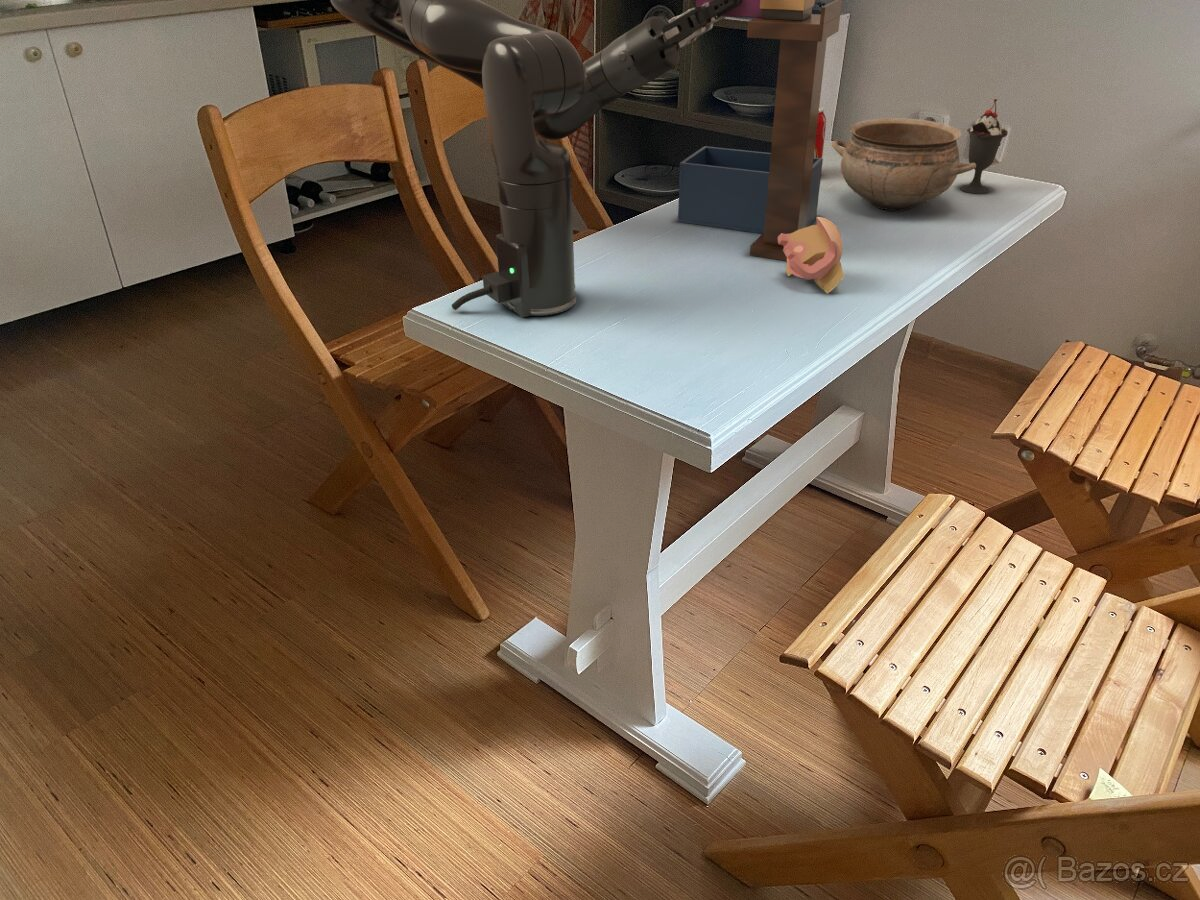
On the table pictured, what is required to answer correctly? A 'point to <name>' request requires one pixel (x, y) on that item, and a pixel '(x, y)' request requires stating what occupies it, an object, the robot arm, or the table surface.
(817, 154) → the soda can
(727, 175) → the blue open box
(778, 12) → the brush
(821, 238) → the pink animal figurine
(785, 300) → the table surface
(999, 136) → the sundae
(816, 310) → the table surface
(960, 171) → the cooking pot
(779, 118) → the dark wooden post
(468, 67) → the robot arm
